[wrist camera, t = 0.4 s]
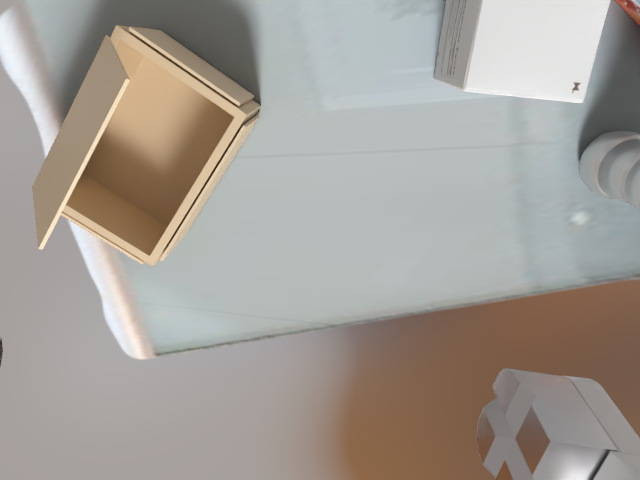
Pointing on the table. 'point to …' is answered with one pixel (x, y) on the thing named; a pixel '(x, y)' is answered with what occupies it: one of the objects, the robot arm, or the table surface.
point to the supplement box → (520, 47)
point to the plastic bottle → (613, 166)
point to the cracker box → (631, 8)
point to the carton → (160, 147)
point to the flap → (78, 137)
